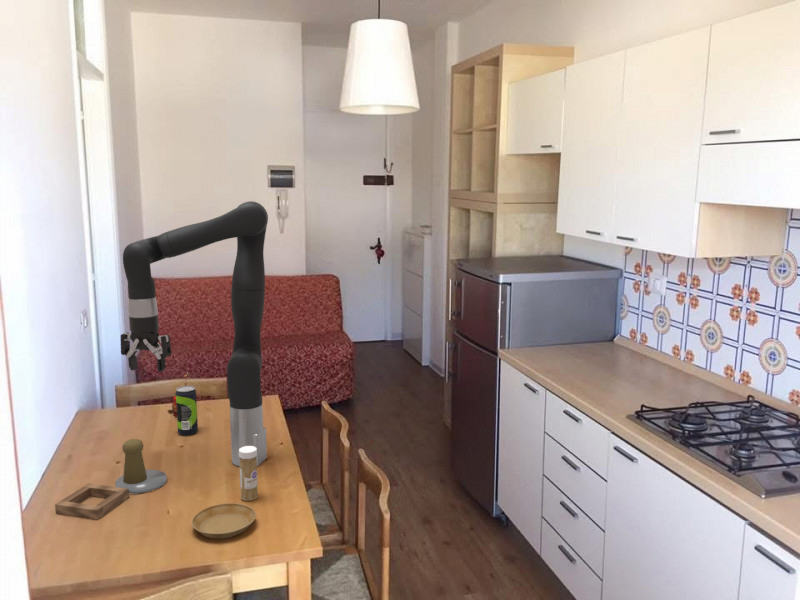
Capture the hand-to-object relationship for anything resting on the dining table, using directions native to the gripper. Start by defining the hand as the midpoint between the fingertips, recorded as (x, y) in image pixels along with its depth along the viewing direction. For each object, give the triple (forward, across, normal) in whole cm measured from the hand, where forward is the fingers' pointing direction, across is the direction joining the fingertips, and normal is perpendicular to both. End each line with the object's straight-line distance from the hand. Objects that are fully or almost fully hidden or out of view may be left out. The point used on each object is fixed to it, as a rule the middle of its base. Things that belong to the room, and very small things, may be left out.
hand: (147, 370), depth 187 cm
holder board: (+28, +1, +25) cm, 38 cm away
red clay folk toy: (+29, +15, -40) cm, 52 cm away
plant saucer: (+29, -36, +27) cm, 53 cm away
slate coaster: (+28, -3, +11) cm, 30 cm away
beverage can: (+29, +4, -25) cm, 38 cm away
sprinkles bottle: (+29, -35, +12) cm, 47 cm away
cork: (+28, -1, +11) cm, 30 cm away
